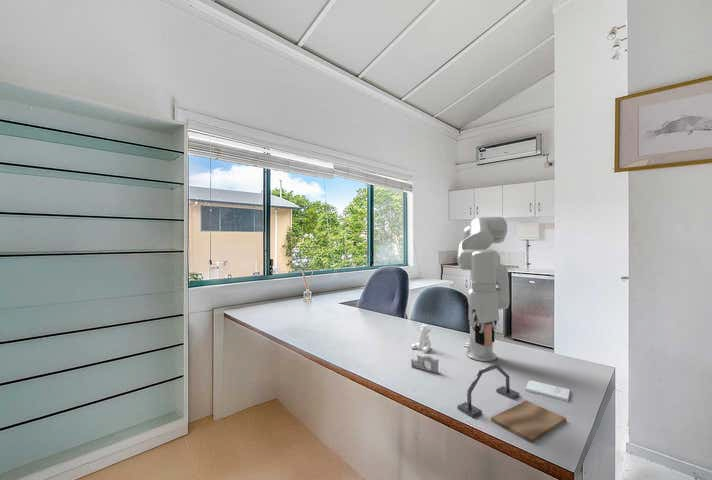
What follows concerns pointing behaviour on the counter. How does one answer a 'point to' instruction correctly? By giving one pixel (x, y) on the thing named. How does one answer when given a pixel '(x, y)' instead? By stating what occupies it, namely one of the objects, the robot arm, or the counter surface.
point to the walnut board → (528, 420)
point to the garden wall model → (421, 363)
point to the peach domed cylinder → (487, 334)
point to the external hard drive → (548, 390)
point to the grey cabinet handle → (502, 390)
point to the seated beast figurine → (423, 340)
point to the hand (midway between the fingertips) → (484, 341)
